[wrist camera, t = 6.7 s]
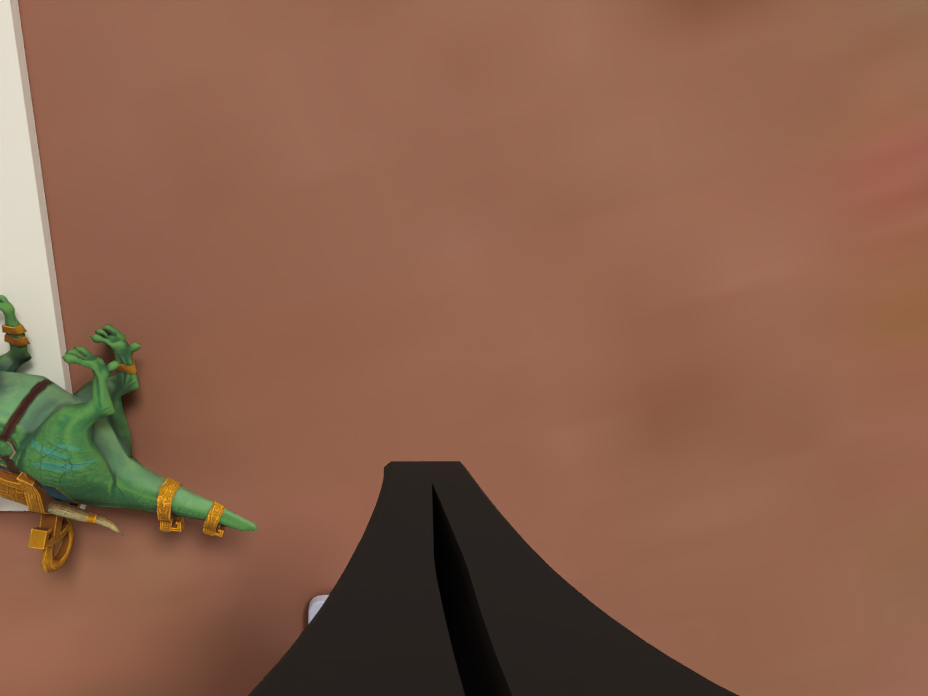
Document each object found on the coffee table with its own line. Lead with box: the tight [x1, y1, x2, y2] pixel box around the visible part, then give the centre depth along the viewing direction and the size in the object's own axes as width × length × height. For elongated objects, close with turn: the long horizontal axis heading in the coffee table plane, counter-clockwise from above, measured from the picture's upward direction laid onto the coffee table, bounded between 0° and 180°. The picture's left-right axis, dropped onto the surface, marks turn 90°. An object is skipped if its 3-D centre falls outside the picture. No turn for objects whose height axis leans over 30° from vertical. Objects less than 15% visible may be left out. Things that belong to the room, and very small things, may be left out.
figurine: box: [0, 295, 258, 573], centre depth 19 cm, size 3×12×8 cm
